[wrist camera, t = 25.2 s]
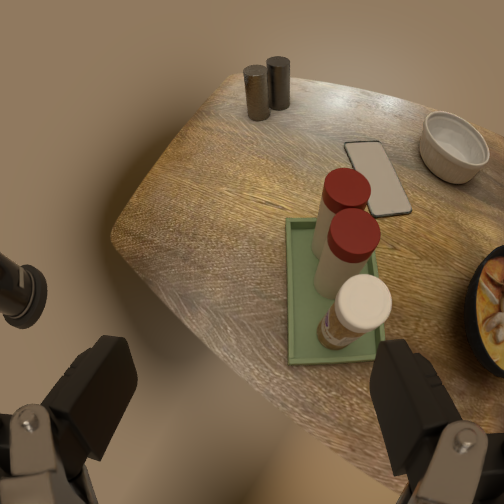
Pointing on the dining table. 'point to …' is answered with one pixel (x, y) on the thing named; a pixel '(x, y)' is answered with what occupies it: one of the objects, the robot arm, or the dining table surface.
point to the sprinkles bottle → (355, 311)
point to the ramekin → (452, 147)
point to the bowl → (487, 312)
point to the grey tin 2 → (279, 82)
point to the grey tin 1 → (257, 92)
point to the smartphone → (379, 178)
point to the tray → (316, 304)
